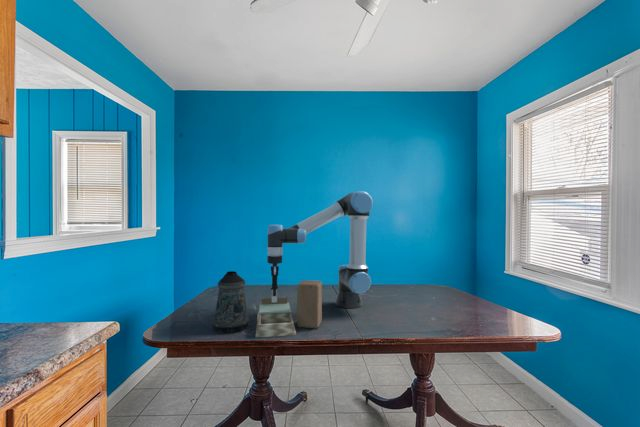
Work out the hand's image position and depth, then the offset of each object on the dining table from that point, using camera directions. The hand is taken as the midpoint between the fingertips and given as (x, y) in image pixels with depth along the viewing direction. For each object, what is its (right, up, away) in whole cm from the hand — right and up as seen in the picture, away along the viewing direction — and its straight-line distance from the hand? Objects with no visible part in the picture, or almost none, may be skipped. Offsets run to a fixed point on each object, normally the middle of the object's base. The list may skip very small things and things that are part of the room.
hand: (274, 301), depth 157 cm
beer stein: (-19, -8, -14) cm, 25 cm away
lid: (+1, -2, -4) cm, 5 cm away
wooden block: (+18, -8, -11) cm, 23 cm away
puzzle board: (+2, -8, -10) cm, 12 cm away
